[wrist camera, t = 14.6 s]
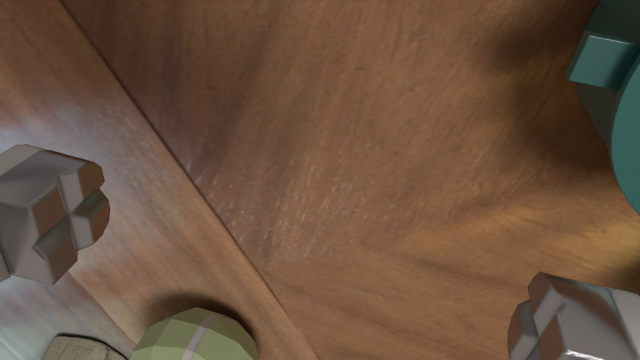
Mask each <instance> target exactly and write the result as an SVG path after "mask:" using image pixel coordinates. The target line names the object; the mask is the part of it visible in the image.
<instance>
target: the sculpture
mask: <svg viewBox="0 0 640 360" xmlns="http://www.w3.org/2000/svg"><path fill="white" fill-rule="evenodd" d="M41 360H126V359H125V358H124V357H123V356H121V355H120V354H119V353H117V352H116V351H114V350H113V349H111V348H110V347H109V346H107V345H106V344H103V343H101V342H98V341H95V340H91V339H85V338H78V337H66V336H58V337H56V338H55V339H54V340H53V342H52V343H51V345H50V347H49V348H48V350H47V351H46V353H45V354H44V356H43V358H42V359H41Z"/></svg>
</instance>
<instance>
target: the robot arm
mask: <svg viewBox="0 0 640 360" xmlns="http://www.w3.org/2000/svg"><path fill="white" fill-rule="evenodd" d="M104 182H105V180H104V176H103V172H102V168H101V166H99V165H98V164H96V163H95V162H92V161H88V160H85V159H81V158H77V157H74V156H70V155H66V154H63V153H59V152H55V151H51V150H46V149H42V148H39V147H35V146H31V145H28V144H23V145H15V146H13V147H12V148H10V149H8V150H7V151H5V152H3V153H1V154H0V282H2V281H4V280H6V279H8V278H10V275H13V276H17V277H21V278H25V279H29V280H33V281H37V282H41V283H45V284H49V285H52V286H53V285H54V284H55V283H56V282H57V281H58V280H59V279H60V278H61V277H62V276H63V275H64V274H65V273H66V272H67V271H68V270H69V269H70V267H71V266H72V265H73V264H74V263H75V262H76V261H77V259H78V250H81V249H83V248H86V247H89V246H91V245H93V244H94V243H95V242H96V241H97V240H98V239H99V238H100V237H101V236H102V235H103V233H104V230H105V228H106V226H107V224H108V222H109V216H110V206H109V201H108V199H107V197H106V196H105V195H104V194H103V192H102V191H101V190H100V187H101V186H102V184H103V183H104ZM528 292H529V297H530V299H529V300H527V301H525V302H523V303H520V304H518V305H517V307H516V309H515V311H514V313H513V315H512V317H511V321H510V325H509V329H508V342H507V345H508V354H509V358H510V360H640V296H639V295H638V294H636V293H632V292H627V291H623V290H618V289H614V288H609V287H605V286H603V287H601V286H598V285H593V284H589V283H585V282H581V281H577V280H573V279H568V278H564V277H560V276H556V275H552V274H547V273H543V272H539V273H538V274H537V275H535V276H534V277H533V279H532V281H531V282H530V284H529V286H528Z"/></svg>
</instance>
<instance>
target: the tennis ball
mask: <svg viewBox="0 0 640 360" xmlns="http://www.w3.org/2000/svg"><path fill="white" fill-rule="evenodd" d="M129 360H259V357H258V353H257V349H256V345H255V342H254V341H253V338H252V337H251V336H250V335H249V334H248V333H247V331H246V330H245V329H244V328H243V327H242V326H241V325H240V324H239V322H238V321H236V320H234V319H232V318H230V317H227V316H225V315H223V314H220V313H216V312H212V311H209V310H205V309H201V308H198V307H195V308H192V309H189V310H186V311H183V312H180V313H178V314H175V315H173V316H171V317H169V318H167V319H164V320H162V321H160V322H158V323H156V324H153V325H151V326H150V328H149V329H148V330H147V332H146V333H145V335H144V336H143V337H142V339H141V340H140V342H139V343H138V345H137V346H136V347H135V349H134V350H133V352H132V354H131V356H130V359H129Z"/></svg>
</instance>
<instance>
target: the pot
mask: <svg viewBox="0 0 640 360" xmlns="http://www.w3.org/2000/svg"><path fill="white" fill-rule="evenodd" d="M639 54H640V0H601V1H600V2H599V4H598V5H597V6H596V8H595V10H594V11H593V13H592V15H591V17H590V19H589V21H588V23H587V25H586V27H585V30H584V32H583V35H582V37H581V40H580V42H579V44H578V46H577V48H576V50H575V53H574V55H573V57H572V59H571V61H570V64H569V66H568V68H567V70H566V72H565V76H566V77H567V79H568V80H569V81H574V82H577V93H578V95H579V97H580V99H581V101H582V103H583V105H584V108H585V109H586V111H587V113H588V115H589V117H590V119H591V121H592V123H593V125H594V127H595V128H596V130H597V131H598V133H599V135H600V136H601V138H602V140H603V141H604V143H605V144H606V146H607V148H608V149H609V146H608V133H609V126H610V119H611V114H612V111H613V107H614V104H615V101H616V97H617V95H618V92H619V90H620V88H621V86H622V84H623V81H624V79H625V77H626V75H627V73H628V72H629V70H630V68H631V67H632V65H633V63H634V62H635V60H636V59H637V57H638V55H639Z"/></svg>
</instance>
